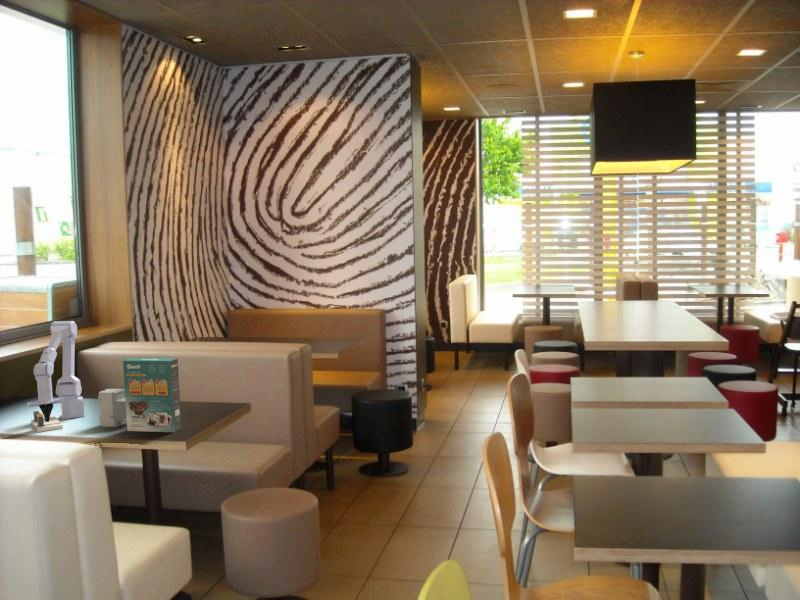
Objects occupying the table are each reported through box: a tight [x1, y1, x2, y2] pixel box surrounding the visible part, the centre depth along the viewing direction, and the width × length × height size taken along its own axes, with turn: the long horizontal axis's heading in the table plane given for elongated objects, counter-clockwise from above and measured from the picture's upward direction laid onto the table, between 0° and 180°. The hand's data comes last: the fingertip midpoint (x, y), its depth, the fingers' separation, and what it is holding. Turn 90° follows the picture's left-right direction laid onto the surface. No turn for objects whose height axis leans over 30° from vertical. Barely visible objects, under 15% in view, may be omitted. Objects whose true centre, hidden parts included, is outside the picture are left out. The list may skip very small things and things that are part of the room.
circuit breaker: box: [97, 388, 127, 428], centre depth 370 cm, size 8×14×15 cm, turn 78°
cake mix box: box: [122, 357, 182, 433], centre depth 358 cm, size 22×6×30 cm, turn 77°
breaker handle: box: [37, 413, 44, 426], centre depth 367 cm, size 2×4×5 cm, turn 31°
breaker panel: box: [30, 410, 64, 433], centre depth 373 cm, size 10×20×6 cm, turn 31°
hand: (47, 421), depth 368 cm, fingers closed
